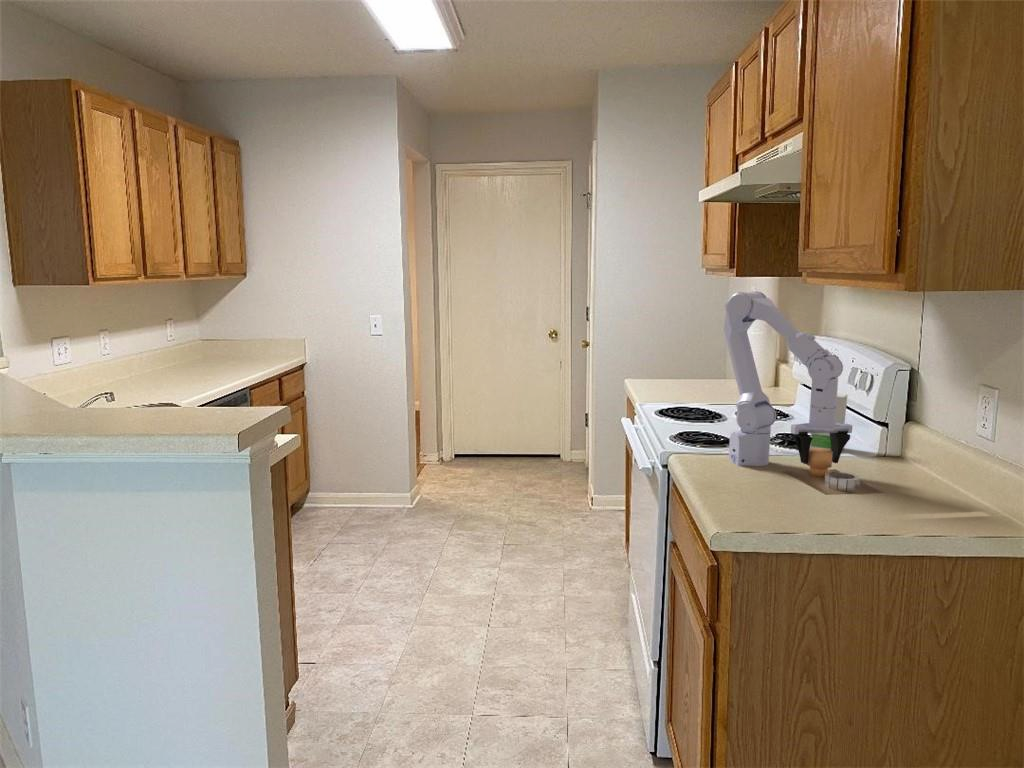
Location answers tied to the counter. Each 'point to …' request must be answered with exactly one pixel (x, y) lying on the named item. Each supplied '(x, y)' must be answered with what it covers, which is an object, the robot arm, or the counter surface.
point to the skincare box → (824, 438)
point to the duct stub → (842, 481)
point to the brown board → (820, 481)
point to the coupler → (819, 461)
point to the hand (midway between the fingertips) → (819, 462)
